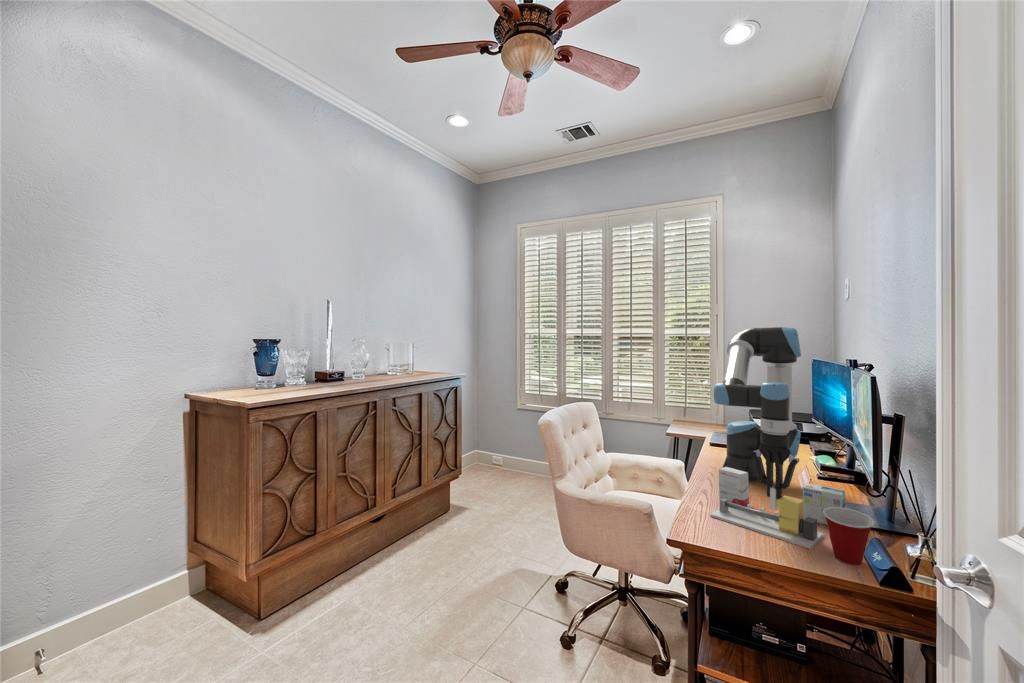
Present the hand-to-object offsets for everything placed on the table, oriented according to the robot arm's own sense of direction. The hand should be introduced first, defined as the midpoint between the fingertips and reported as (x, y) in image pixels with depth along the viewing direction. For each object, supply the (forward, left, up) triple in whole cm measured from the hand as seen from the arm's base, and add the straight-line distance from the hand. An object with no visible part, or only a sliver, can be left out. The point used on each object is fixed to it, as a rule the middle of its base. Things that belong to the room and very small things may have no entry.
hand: (774, 508), depth 128 cm
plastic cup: (+5, +19, -7) cm, 21 cm away
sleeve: (0, +5, -5) cm, 7 cm away
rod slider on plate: (0, -3, -7) cm, 7 cm away
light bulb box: (-19, +8, -7) cm, 22 cm away
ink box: (-12, -17, -7) cm, 22 cm away
